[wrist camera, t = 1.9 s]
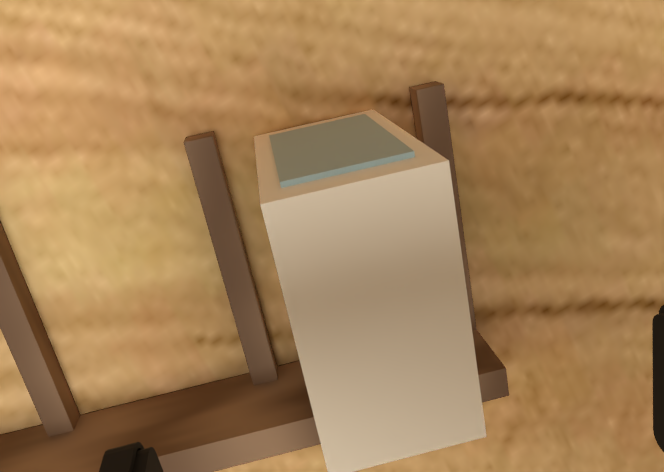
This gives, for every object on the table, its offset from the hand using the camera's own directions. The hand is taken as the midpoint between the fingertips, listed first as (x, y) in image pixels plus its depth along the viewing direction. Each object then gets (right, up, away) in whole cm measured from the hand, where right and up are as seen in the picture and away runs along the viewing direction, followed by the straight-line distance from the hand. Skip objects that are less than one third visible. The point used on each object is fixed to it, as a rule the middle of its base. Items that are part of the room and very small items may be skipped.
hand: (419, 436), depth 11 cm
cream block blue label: (-1, +4, +13) cm, 14 cm away
